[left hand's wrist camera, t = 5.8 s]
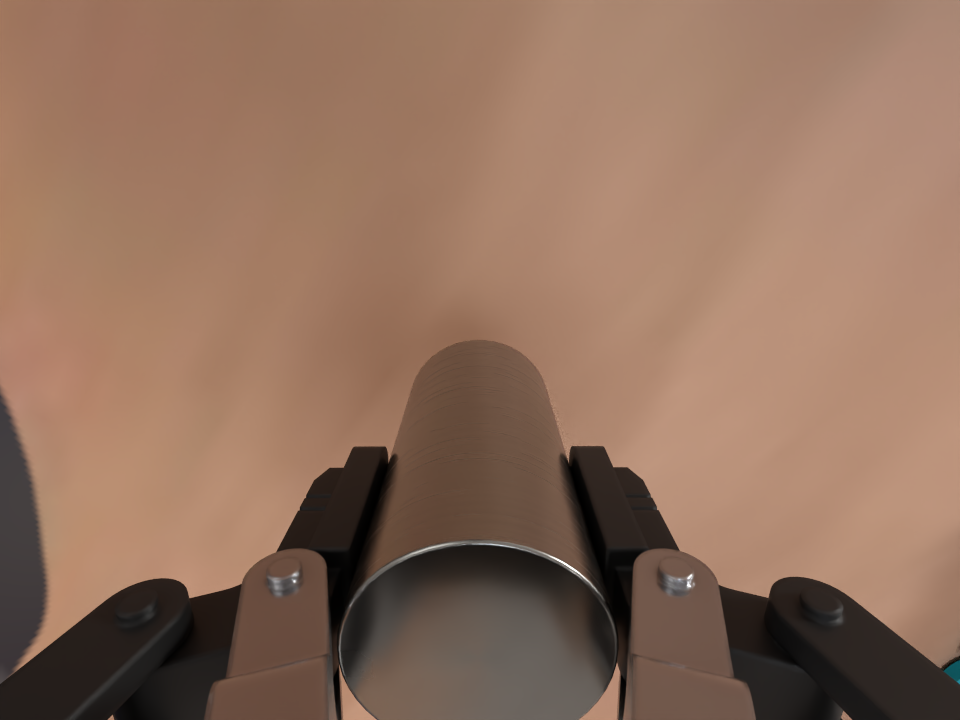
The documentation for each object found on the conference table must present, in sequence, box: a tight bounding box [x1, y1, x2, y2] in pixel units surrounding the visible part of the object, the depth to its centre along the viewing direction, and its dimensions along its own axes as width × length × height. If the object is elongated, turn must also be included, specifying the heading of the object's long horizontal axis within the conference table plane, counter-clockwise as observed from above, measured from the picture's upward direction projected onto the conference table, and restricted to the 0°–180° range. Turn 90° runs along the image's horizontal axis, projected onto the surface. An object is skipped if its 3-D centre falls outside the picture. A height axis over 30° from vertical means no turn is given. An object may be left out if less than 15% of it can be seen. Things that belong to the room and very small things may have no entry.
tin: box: [337, 340, 619, 720], centre depth 12 cm, size 4×4×9 cm
